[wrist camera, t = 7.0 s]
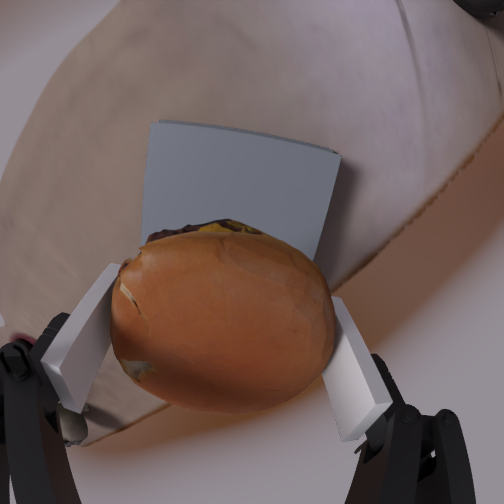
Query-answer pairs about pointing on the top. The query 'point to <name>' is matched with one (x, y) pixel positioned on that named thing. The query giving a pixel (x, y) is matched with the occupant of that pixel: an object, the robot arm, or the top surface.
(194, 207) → the stacking base
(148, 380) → the burger
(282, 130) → the top surface
